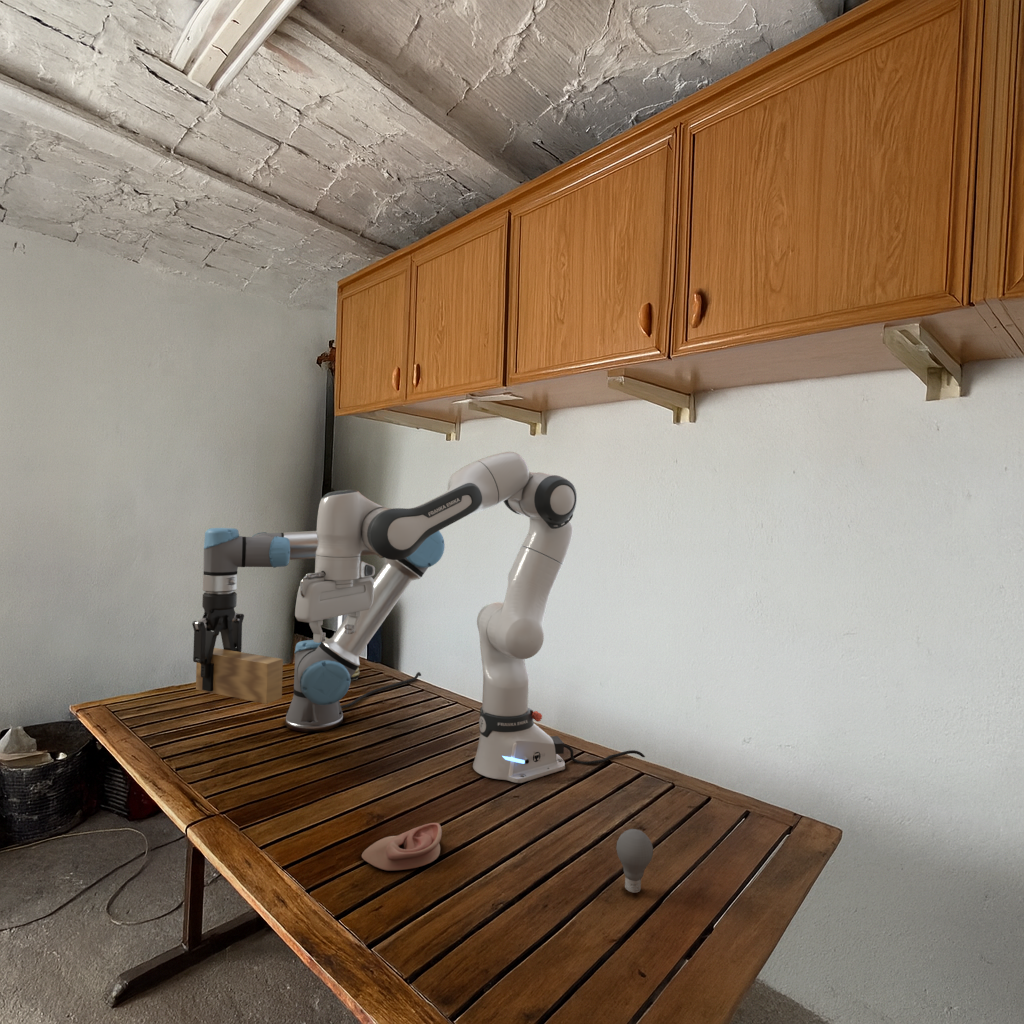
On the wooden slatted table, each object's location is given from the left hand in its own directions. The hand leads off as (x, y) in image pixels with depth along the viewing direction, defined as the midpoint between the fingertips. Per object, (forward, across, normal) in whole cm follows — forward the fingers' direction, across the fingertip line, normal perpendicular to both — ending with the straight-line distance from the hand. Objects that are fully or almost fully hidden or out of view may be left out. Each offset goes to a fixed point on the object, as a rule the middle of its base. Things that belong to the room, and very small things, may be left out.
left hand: (217, 686), depth 154 cm
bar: (+1, 0, -7) cm, 7 cm away
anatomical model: (+16, -17, -64) cm, 68 cm away
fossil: (+16, +62, +14) cm, 65 cm away
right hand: (-19, -10, -42) cm, 47 cm away
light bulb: (+16, -9, -104) cm, 106 cm away
